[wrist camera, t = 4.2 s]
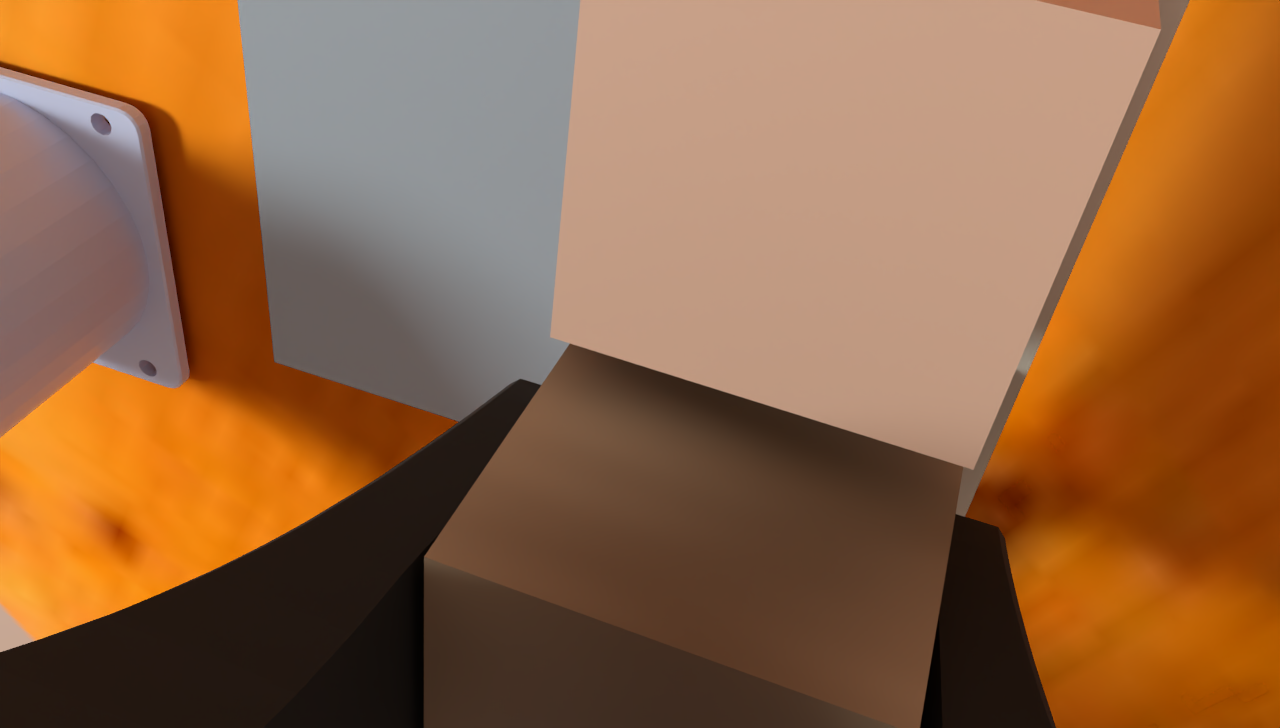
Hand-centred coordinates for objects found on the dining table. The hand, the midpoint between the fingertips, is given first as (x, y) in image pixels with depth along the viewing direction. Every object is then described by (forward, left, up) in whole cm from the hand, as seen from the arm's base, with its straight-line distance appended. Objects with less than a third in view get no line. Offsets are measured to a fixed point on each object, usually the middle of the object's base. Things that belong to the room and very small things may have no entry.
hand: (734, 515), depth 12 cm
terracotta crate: (0, +4, -2) cm, 5 cm away
